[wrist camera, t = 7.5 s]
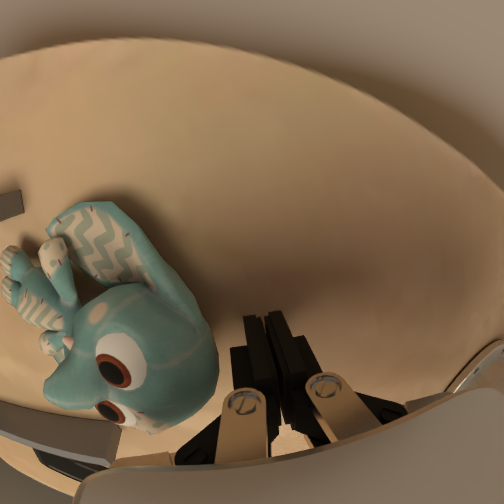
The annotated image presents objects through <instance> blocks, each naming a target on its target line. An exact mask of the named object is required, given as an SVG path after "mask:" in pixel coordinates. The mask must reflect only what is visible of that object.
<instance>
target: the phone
mask: <svg viewBox="0 0 504 504" xmlns="http://www.w3.org/2000/svg"><path fill="white" fill-rule="evenodd" d="M33 450H34V452H35V454H36V456H37V457H38V459H39V461H40V462H41V463H42V464H44V465H45V466H47V467H48V468H50V469H52V470H54V471H56V472H59V473H61V474H63V475H65V476H67V477H69V478H72V479H74V480H76V481H79V482H82V481H83V480H84V479H85V478H86V477H88V476H89V475H91V474H94V473H96V472H99V471H103V470H107V469H109V468H106V467H104V466H101V465H97V464H92V463H87V462H82V461H78V460H74V459H69V458H65V457H62V456H58V455H54V454H51V453H48V452H44V451H41V450H38V449H35V448H33Z"/></svg>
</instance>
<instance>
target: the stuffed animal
mask: <svg viewBox="0 0 504 504" xmlns="http://www.w3.org/2000/svg"><path fill="white" fill-rule="evenodd" d="M46 231H47V233H48V235H49V236H50V238H51V239H49V240H47V241H46V242H44V243H43V244H42V246H41V248H40V250H39V252H38V255H39V259H40V262H41V266H42V267H34V266H33V264H32V263H31V261H30V259H29V257H28V255H27V254H26V253H25V251H24V250H22V249H21V248H19V247H17V246H11V245H10V246H9V247H7V248H6V249H5V250H4V251H3V252H2V256H1V260H0V263H1V266H2V269H3V271H4V272H5V274H6V275H7V276H6V277H5V278H4V279H3V281H2V286H1V291H2V294H3V296H4V298H5V299H6V300H7V301H8V303H10V304H11V305H12V306H14V307H15V308H16V310H17V311H18V313H19V315H20V316H21V317H22V318H23V319H24V320H25V321H26V322H27V323H29V324H31V325H33V326H37V327H40V328H43V329H48V330H46V331H45V332H43V333H42V334H41V335H40V337H39V339H38V341H39V346H40V349H41V350H42V351H43V352H44V353H45V354H46V355H50V356H53V357H54V358H55V360H56V361H57V362H58V364H59V366H58V367H57V369H56V370H55V372H54V373H53V374H52V375H51V376H50V377H49V378H47V379H46V380H45V382H44V387H43V395H44V397H45V398H46V399H47V400H48V401H50V402H51V403H53V404H55V405H57V406H59V407H62V408H64V409H91V408H93V409H94V410H95V411H97V412H98V413H99V414H100V415H102V416H103V417H104V418H105V419H107V420H109V421H111V422H113V423H115V424H119V425H124V426H128V427H131V428H135V429H139V430H142V431H143V432H145V433H147V434H149V435H157V434H159V433H161V432H162V431H164V430H166V429H168V428H170V427H173V426H175V425H177V424H179V423H181V422H183V421H184V420H186V419H188V418H190V417H191V416H193V415H194V414H195V413H196V412H198V411H199V410H200V409H201V408H202V407H203V406H204V405H205V404H206V403H207V402H208V401H209V399H210V398H211V397H212V396H213V395H214V393H215V389H216V385H217V381H218V376H219V372H220V371H219V355H218V351H217V347H216V344H215V341H214V337H213V334H212V332H211V329H210V326H209V325H208V323H207V322H206V320H205V319H204V317H203V316H202V314H201V311H200V309H199V306H198V304H197V301H196V299H195V296H194V295H193V294H192V292H191V291H190V290H189V288H188V287H187V286H186V284H185V283H184V282H183V280H182V279H181V278H180V276H179V275H178V273H177V272H176V271H175V270H174V269H173V268H172V267H171V266H170V265H169V264H168V263H167V262H166V261H165V260H164V259H163V258H161V256H160V255H159V253H158V252H157V250H156V249H155V247H154V246H153V245H152V243H151V242H150V240H149V239H148V237H147V236H146V235H145V233H144V232H143V230H142V229H141V228H140V227H139V226H138V225H137V224H136V223H135V222H134V221H133V220H132V219H131V218H130V217H129V216H127V215H126V214H125V213H124V212H123V211H122V210H121V209H119V208H118V207H117V206H116V205H115V204H114V203H113V202H112V201H103V202H79V203H78V204H76V205H74V206H73V207H71V208H70V209H68V210H66V211H65V212H63V213H62V214H60V215H59V216H57V217H55V218H54V219H53V220H52V222H51V223H50V225H49V226H48V227H47V229H46ZM70 259H71V260H72V261H73V262H74V263H75V264H76V265H77V266H78V267H79V268H80V269H81V270H82V271H83V272H85V273H86V274H88V275H89V276H90V277H92V278H93V279H95V280H96V281H97V282H99V283H100V284H102V285H103V286H105V287H106V288H110V289H109V290H107V291H105V292H104V293H102V294H101V295H99V296H97V297H96V298H94V299H93V300H91V301H90V302H88V303H87V304H86V305H84V304H83V303H82V302H81V301H80V300H79V299H78V294H77V291H76V288H75V285H74V279H73V273H72V269H71V264H70Z"/></svg>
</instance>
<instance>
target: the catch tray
mask: <svg viewBox="0 0 504 504" xmlns="http://www.w3.org/2000/svg"><path fill="white" fill-rule="evenodd" d="M22 213H24V209H23V204H22V198H21V191H20V190H18V191H14V192H10V193H5V194H1V195H0V222H1V221H3V220H6V219H9V218H11V217H14V216H16V215H19V214H22ZM121 432H122V431H121V429H120V428H119V427H118V425H117V424H115V423H113V422H110V421H99V420H89V419H81V418H74V417H68V416H62V415H56V414H51V413H46V412H41V411H36V410H32V409H28V408H24V407H20V406H16V405H13V404H9V403H6V402H2V401H0V435H2V436H4V437H6V438H9V439H11V440H14V441H16V442H19V443H21V444H24V445H27V446H29V447H32V448H35V449H38V450H41V451H44V452H48V453H51V454H54V455H58V456H62V457H65V458H69V459H74V460H78V461H82V462H87V463H92V464H97V465H103V466H110V465H111V463H112V462H114V461H115V458H116V453H117V449H118V445H119V440H120V436H121Z"/></svg>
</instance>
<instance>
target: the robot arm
mask: <svg viewBox="0 0 504 504" xmlns="http://www.w3.org/2000/svg"><path fill="white" fill-rule="evenodd" d="M268 315H269V316H264V320H265V330H266V333H265V330H264V327H263V323H262V320H261V317H257V318H256V315H248V316H243V321H244V327H245V334H246V340H247V345H246V346H239V347H232V348H230V355H231V366H232V376H233V386H234V391H232V392H231V393H229V394H228V395H227V396H226V397H225V399H224V402H223V407H222V414H221V415H220V416H219V417H217V418H216V419H215V420H214V421H213V422H212V423H210V424H209V425H208V426H207V427H206V428H204V429H203V430H202V431H201V432H200V433H198V434H197V435H196V436H195V437H193V438H192V439H191V440H190V441H188V442H187V443H186V444H185V445H183V446H182V447H181V448H180V449H179V450H178V451H177V452H176V453H170V454H169V452H162V453H156V454H150V455H143V456H135V457H126V458H120V459H117V460H115V461H114V462H112V463H111V465H110V466H109V469H107V470H103V471H99V472H96V473H94V474H91V475H89V476H88V477H86V478H85V479H84V480H83V481H82V482H81V484H80V485H79V487H78V489H77V491H76V493H75V496H74V499H73V502H72V504H504V341H502V340H498V341H496V342H493V343H492V344H490V345H489V346H487V347H486V348H485V349H484V350H483V351H481V352H480V353H479V354H478V355H477V356H476V357H475V358H474V359H473V360H472V361H471V362H470V363H469V364H468V366H467V367H466V368H465V369H464V370H463V371H462V372H461V373H460V375H459V376H458V377H457V378H456V379H455V380H454V382H453V383H452V384H451V385H450V387H449V388H448V389H447V391H446V392H442V393H439V394H435V395H431V396H428V397H424V398H420V399H416V400H411V401H407V402H405V404H404V405H401V404H398V403H396V402H392V401H388V400H384V399H380V398H376V397H372V396H368V395H365V394H361V393H358V392H354V391H353V390H352V388H351V387H350V386H349V385H348V384H347V382H346V381H345V380H344V379H343V378H342V377H341V376H339V375H337V374H335V373H330V372H322V370H321V368H320V366H319V364H318V362H317V360H316V358H315V356H314V354H313V352H312V350H311V348H310V346H309V344H308V342H307V340H306V338H305V336H304V335H302V336H297V337H293V336H292V334H291V332H290V329H289V327H288V325H287V322H286V320H285V318H284V316H283V313H282V311H281V310H279V311H273V312H269V313H268ZM280 407H281V409H280ZM281 411H282V414H283V418H284V422H285V424H290V425H291V428H292V430H295V431H298V432H300V433H302V434H304V438H305V440H306V442H307V444H308V446H309V447H310V449H308V450H304V451H299V452H295V453H290V454H285V455H280V456H275V457H272V445H271V443H272V441H273V440H274V439H275V438H276V437H277V436H278V435H279V426H281V425H282V424H281Z"/></svg>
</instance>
